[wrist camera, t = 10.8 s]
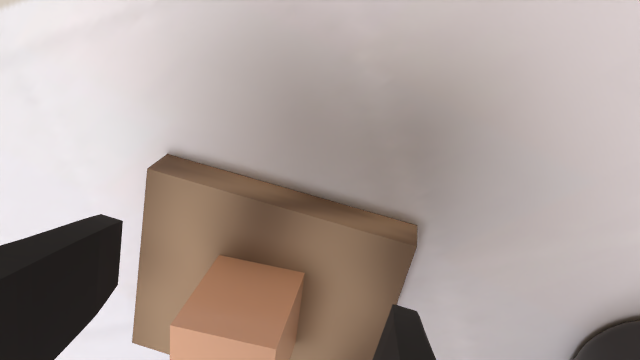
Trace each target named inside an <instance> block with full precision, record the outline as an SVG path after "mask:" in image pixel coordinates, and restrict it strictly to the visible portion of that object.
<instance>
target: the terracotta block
mask: <svg viewBox="0 0 640 360" xmlns="http://www.w3.org/2000/svg"><path fill="white" fill-rule="evenodd" d="M304 275H305V273H303V272H298V271H294V270H289V269H284V268H279V267H274V266H270V265H265V264H260V263H255V262H250V261H246V260H241V259H236V258H231V257H227V256H222V255H219V256H218V257H217V259H216V260H215V261H214V263H213V264H212V266H211V267H210V269H209V270H208V271H207V273H206V274H205V276H204V277H203V279H202V280H201V282H200V283H199V284H198V286H197V287H196V289H195V290H194V292H193V293H192V294H191V296H190V297H189V299H188V300H187V302H186V303H185V305H184V306H183V307H182V309H181V310H180V312H179V313H178V315H177V316H176V317H175V319H174V320H173V322H172V323H171V325H170V360H290V358H291V355H292V352H293V349H294V346H295V343H296V336H297V328H298V321H299V313H300V305H301V298H302V290H303V283H304Z"/></svg>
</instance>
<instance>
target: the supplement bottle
mask: <svg viewBox="0 0 640 360" xmlns="http://www.w3.org/2000/svg"><path fill="white" fill-rule="evenodd" d="M574 360H640V320H637V321H631V322H627V323H623V324H619V325H616V326H614V327H611V328H609V329H607V330H605V331H603V332H601V333H599V334H598V335H596V336H595V337H593V338H592V339H591V340H590V341H588V342H587V343H586V344H585V345H584V346H583V347H582V349H581V350H580V351H579V352H578V354H577V355H576V357H575V359H574Z"/></svg>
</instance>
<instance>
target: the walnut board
mask: <svg viewBox="0 0 640 360" xmlns="http://www.w3.org/2000/svg"><path fill="white" fill-rule="evenodd" d="M416 248H417V225H413V224H410V223H406V222H403V221H399V220H396V219H392V218H389V217H385V216H382V215H378V214H375V213H371V212H368V211H364V210H361V209H357V208H354V207H350V206H347V205H343V204H340V203H337V202H333V201H330V200H326V199H323V198H319V197H316V196H312V195H309V194H305V193H302V192H298V191H295V190H291V189H288V188H284V187H281V186H277V185H274V184H270V183H267V182H263V181H260V180H256V179H253V178H249V177H246V176H242V175H239V174H235V173H232V172H228V171H225V170H221V169H218V168H214V167H211V166H207V165H204V164H200V163H197V162H193V161H190V160H186V159H183V158H179V157H176V156H172V155H169V154H167V155H165V156H164V157H163V158H161V159H160V160H159V161H157V162H156V163H154V164H153V165H152V166H150V167H149V168H148V169H147V178H146V190H145V201H144V213H143V224H142V236H141V247H140V258H139V270H138V281H137V293H136V304H135V316H134V327H133V339H132V343H135V344H138V345H141V346H144V347H147V348H151V349H154V350H157V351H160V352H163V353H166V354H169V355H170V325H171V323H172V322H173V320H174V319H175V317H176V316H177V315H178V313H179V312H180V310H181V309H182V307H183V306H184V305H185V303H186V302H187V300H188V299H189V297H190V296H191V294H192V293H193V292H194V290H195V289H196V287H197V286H198V284H199V283H200V282H201V280H202V279H203V277H204V276H205V274H206V273H207V271H208V270H209V269H210V267H211V266H212V264H213V263H214V261H215V260H216V259H217V257H218V256H219V255H222V256H227V257H231V258H236V259H241V260H246V261H250V262H255V263H260V264H265V265H270V266H274V267H279V268H284V269H289V270H294V271H298V272H303V273H305V275H304V283H303V290H302V298H301V305H300V313H299V321H298V328H297V336H296V343H295V346H294V349H293V352H292V355H291V358H290V360H373V357H374V354H375V351H376V349H377V346H378V343H379V340H380V338H381V335H382V332H383V329H384V327H385V324H386V321H387V318H388V316H389V313H390V310H391V307H392V304H395V305H396V304H397V301H398V298H399V296H400V293H401V290H402V287H403V284H404V282H405V279H406V276H407V273H408V270H409V267H410V265H411V262H412V259H413V256H414V253H415V251H416Z"/></svg>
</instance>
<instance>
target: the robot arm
mask: <svg viewBox="0 0 640 360" xmlns="http://www.w3.org/2000/svg"><path fill="white" fill-rule="evenodd" d="M122 224H123V221H121V220H118V219H115V218H111V217H108V216H105V215H102V214H100V215H96V216H93V217H89V218H86V219H83V220H79V221H76V222H73V223H70V224H67V225H64V226H61V227H58V228H55V229H52V230H49V231H46V232H43V233H40V234H37V235H34V236H31V237H28V238H25V239H21V240H18V241H14V242H11V243H8V244H4V245H1V246H0V360H54V359H55V358H56V357H57V356H58V355H59V354H60V353H61V352H62V351H63V350H64V349H65V348H66V347H67V346H68V345H69V344H70V343H71V342H72V340H73V339H74V338H75V337H76V336H77V335H78V334H79V333H80V332H81V331H82V330H83V329H84V328H85V327H86V326H87V324H88V323H89V322H90V321H91V320H92V319H93V318H94V317H95V316H96V314H97V313H98V312H99V310H100V309H101V308H102V306H103V305H104V304H105V302H106V301H107V299H108V298H109V297H110V295H111V294H112V292H113V291H114V289H115V288H116V287H117V285H118V276H119V263H120V250H121V237H122ZM373 360H436V358H435V356H434V353H433V351H432V349H431V346H430V344H429V341H428V338H427V336H426V333H425V331H424V328H423V325H422V322H421V319H420V316H419V315H418V313H417V311H414V310H411V309H408V308H404V307H401V306H398V305H395V304H392V307H391V310H390V313H389V316H388V318H387V321H386V324H385V327H384V329H383V332H382V335H381V338H380V340H379V343H378V346H377V349H376V351H375V354H374V357H373Z"/></svg>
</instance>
